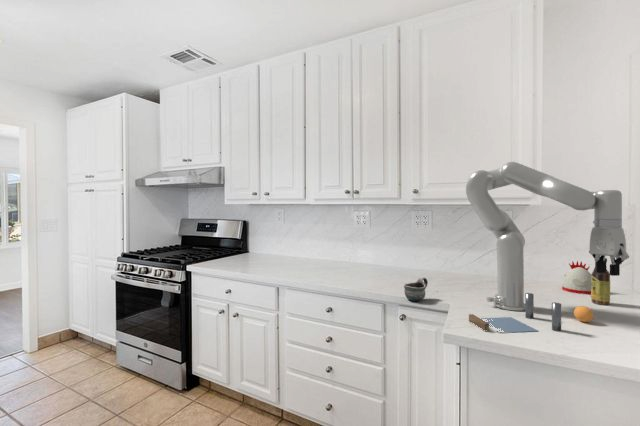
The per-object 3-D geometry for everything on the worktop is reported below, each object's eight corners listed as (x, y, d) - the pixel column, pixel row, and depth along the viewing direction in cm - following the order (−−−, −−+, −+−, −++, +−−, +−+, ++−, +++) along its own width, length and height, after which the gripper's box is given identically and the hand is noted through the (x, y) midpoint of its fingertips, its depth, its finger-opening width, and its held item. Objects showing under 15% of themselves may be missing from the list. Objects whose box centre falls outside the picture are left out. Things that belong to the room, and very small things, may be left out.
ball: (583, 324, 115) (583, 308, 115) (569, 319, 120) (569, 304, 120) (598, 324, 115) (598, 308, 115) (583, 318, 121) (583, 303, 121)
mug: (399, 300, 148) (399, 278, 148) (414, 295, 157) (414, 274, 156) (418, 304, 141) (418, 281, 141) (433, 299, 149) (433, 277, 149)
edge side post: (556, 331, 109) (556, 304, 109) (549, 328, 111) (549, 302, 111) (563, 331, 109) (563, 304, 109) (557, 328, 112) (557, 302, 112)
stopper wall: (484, 331, 110) (484, 323, 110) (468, 321, 120) (468, 314, 120) (488, 331, 110) (488, 323, 110) (472, 320, 120) (472, 314, 120)
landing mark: (499, 333, 108) (499, 332, 108) (475, 318, 122) (475, 318, 122) (538, 331, 109) (538, 330, 109) (510, 317, 123) (510, 317, 123)
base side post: (528, 318, 122) (528, 294, 121) (523, 316, 124) (523, 293, 124) (535, 318, 122) (535, 294, 122) (530, 316, 124) (530, 292, 124)
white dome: (561, 286, 171) (561, 258, 171) (595, 289, 163) (595, 260, 163) (562, 292, 160) (562, 261, 160) (599, 296, 152) (599, 264, 152)
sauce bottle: (591, 300, 145) (591, 256, 144) (609, 303, 141) (609, 257, 140) (591, 303, 139) (591, 257, 139) (610, 306, 135) (610, 259, 135)
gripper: (578, 223, 126) (578, 270, 127) (621, 225, 110) (621, 279, 110) (595, 223, 127) (595, 269, 127) (641, 225, 110) (641, 278, 110)
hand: (607, 273), depth 118 cm, fingers open, 4 cm apart
